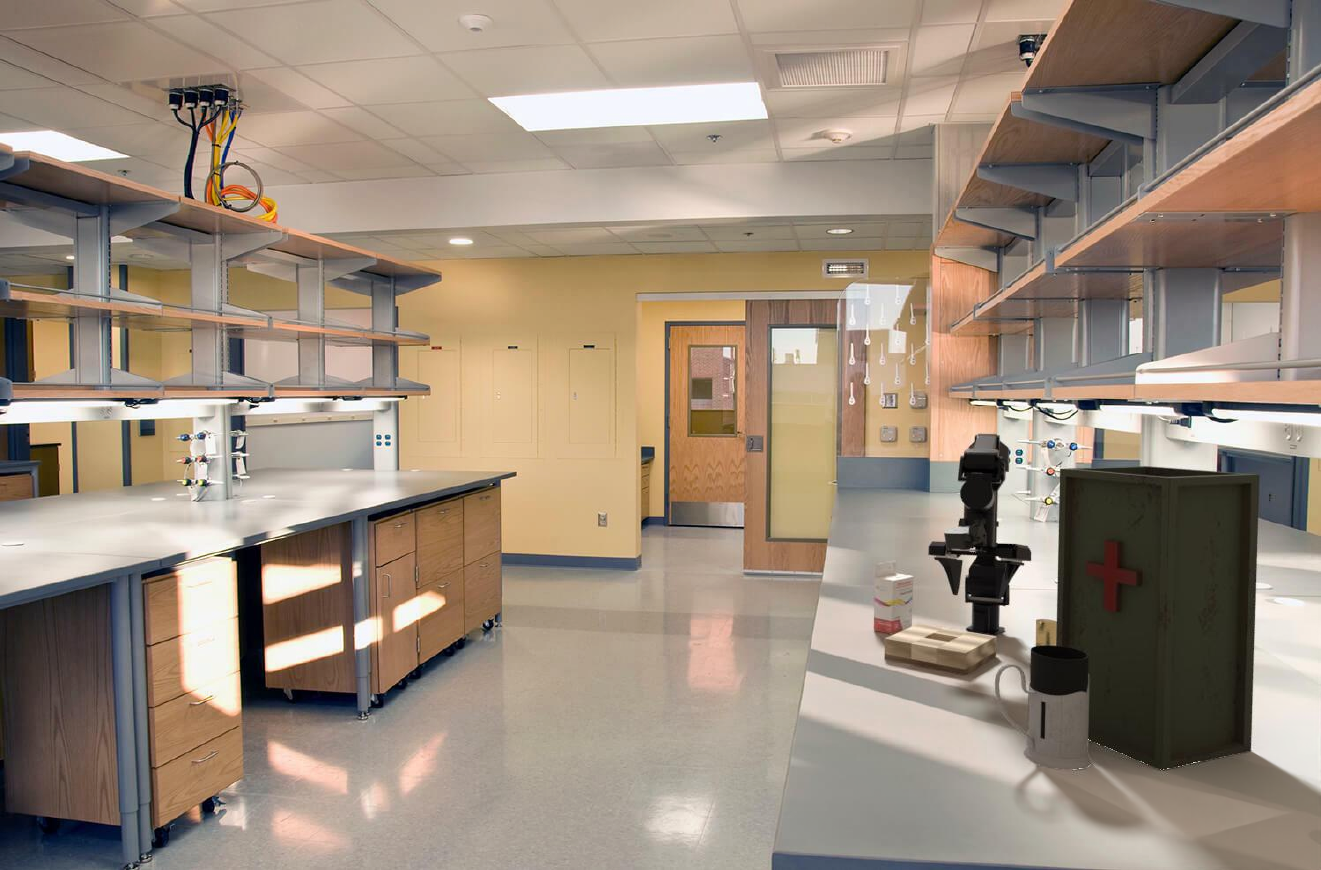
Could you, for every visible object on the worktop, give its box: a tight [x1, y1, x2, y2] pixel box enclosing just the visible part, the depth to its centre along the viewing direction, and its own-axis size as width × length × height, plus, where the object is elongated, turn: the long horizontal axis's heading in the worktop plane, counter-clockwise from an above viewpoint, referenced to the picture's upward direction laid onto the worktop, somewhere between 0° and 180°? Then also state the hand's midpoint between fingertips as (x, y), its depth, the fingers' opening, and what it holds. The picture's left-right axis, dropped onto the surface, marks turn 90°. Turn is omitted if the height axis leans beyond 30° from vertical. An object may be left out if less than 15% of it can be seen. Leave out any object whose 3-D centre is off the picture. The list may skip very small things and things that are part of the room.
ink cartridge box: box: [873, 559, 914, 635], centre depth 200 cm, size 9×5×15 cm, turn 135°
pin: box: [1035, 618, 1057, 646], centre depth 171 cm, size 4×4×9 cm
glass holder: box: [994, 645, 1092, 770], centre depth 127 cm, size 9×14×15 cm, turn 102°
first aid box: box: [1056, 465, 1260, 771], centre depth 135 cm, size 18×18×40 cm
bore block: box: [884, 623, 997, 676], centre depth 178 cm, size 16×16×4 cm
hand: (976, 596), depth 172 cm, fingers open, 9 cm apart
